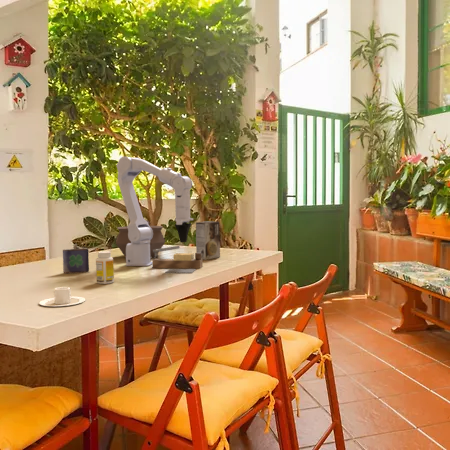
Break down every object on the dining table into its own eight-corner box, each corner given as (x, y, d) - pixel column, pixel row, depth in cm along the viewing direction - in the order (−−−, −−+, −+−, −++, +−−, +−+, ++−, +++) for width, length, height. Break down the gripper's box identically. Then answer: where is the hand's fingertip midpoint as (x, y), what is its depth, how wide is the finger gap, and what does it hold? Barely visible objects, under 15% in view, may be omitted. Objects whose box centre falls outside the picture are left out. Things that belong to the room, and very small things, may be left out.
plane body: (152, 267, 194) (152, 253, 194) (155, 266, 198) (155, 252, 198) (200, 268, 192) (200, 253, 191) (202, 266, 196) (202, 252, 196)
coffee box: (210, 256, 227) (210, 221, 226) (220, 257, 223) (220, 221, 222) (195, 258, 221) (195, 222, 220) (205, 259, 216) (205, 222, 215)
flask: (63, 273, 183) (62, 244, 182) (63, 272, 186) (62, 244, 185) (89, 272, 186) (88, 243, 185) (88, 271, 189) (88, 243, 188)
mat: (165, 273, 181) (165, 272, 181) (170, 269, 189) (170, 268, 189) (191, 273, 180) (191, 272, 180) (196, 269, 188) (196, 269, 188)
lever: (156, 258, 194) (156, 249, 194) (152, 258, 196) (151, 249, 195) (180, 254, 207) (180, 246, 207) (176, 254, 208) (176, 245, 208)
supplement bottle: (115, 281, 167) (114, 250, 166) (112, 284, 161) (111, 252, 160) (98, 281, 166) (97, 251, 165) (95, 284, 161) (94, 253, 160)
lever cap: (173, 260, 192) (173, 254, 192) (176, 258, 197) (176, 253, 197) (191, 260, 192) (191, 254, 191) (193, 258, 196) (193, 253, 196)
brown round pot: (157, 260, 215) (156, 222, 214) (105, 260, 219) (104, 223, 218) (173, 253, 239) (172, 219, 237) (125, 253, 243) (124, 219, 242)
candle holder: (34, 302, 137) (34, 287, 137) (78, 297, 143) (78, 282, 143) (44, 311, 127) (43, 294, 127) (91, 305, 133) (90, 289, 133)
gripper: (189, 207, 185) (189, 244, 186) (196, 206, 200) (196, 240, 201) (170, 208, 186) (171, 244, 187) (179, 206, 201) (179, 240, 202)
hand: (183, 242), depth 194 cm, fingers closed
